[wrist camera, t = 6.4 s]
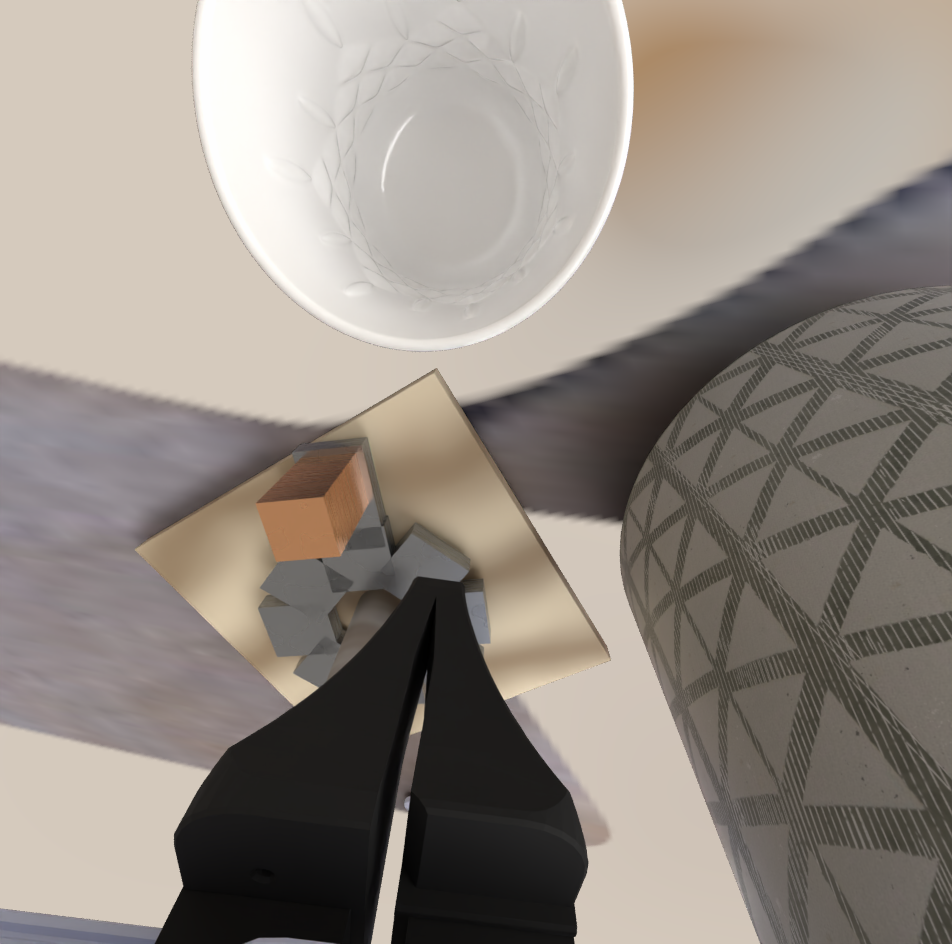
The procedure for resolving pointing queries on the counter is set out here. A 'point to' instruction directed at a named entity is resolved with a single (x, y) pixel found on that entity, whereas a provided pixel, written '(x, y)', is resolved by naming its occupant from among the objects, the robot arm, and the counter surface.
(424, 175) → the white cup
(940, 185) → the counter surface
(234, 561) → the post board
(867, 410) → the planter
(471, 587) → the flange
